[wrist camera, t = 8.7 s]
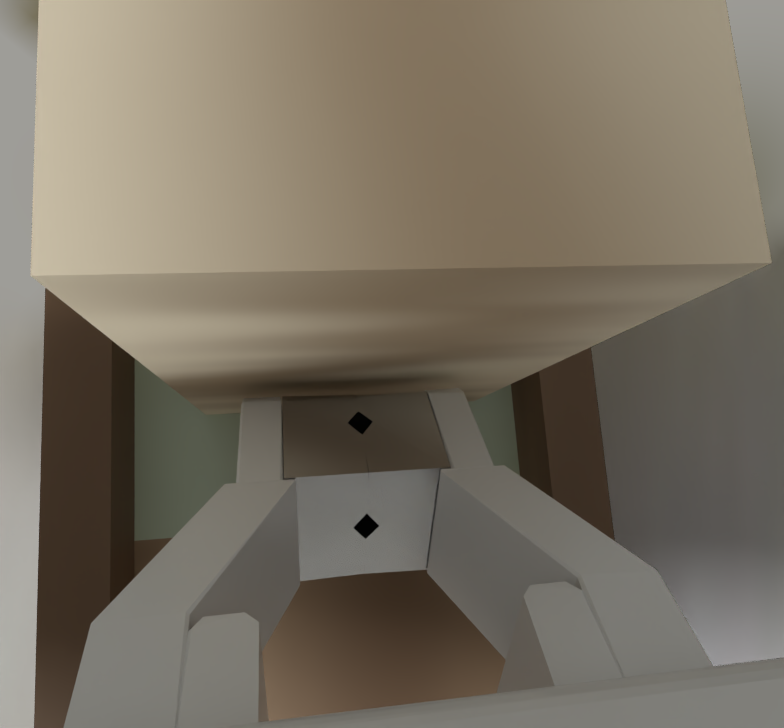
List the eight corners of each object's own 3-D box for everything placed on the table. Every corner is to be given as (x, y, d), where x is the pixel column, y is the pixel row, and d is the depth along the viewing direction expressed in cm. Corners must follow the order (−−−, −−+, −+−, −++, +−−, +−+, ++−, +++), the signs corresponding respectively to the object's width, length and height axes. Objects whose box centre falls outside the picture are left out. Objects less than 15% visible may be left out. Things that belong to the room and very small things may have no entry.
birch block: (205, 415, 12) (30, 276, 4) (201, 158, 13) (51, -376, 5) (474, 401, 12) (771, 263, 5) (452, 160, 13) (674, -295, 6)
